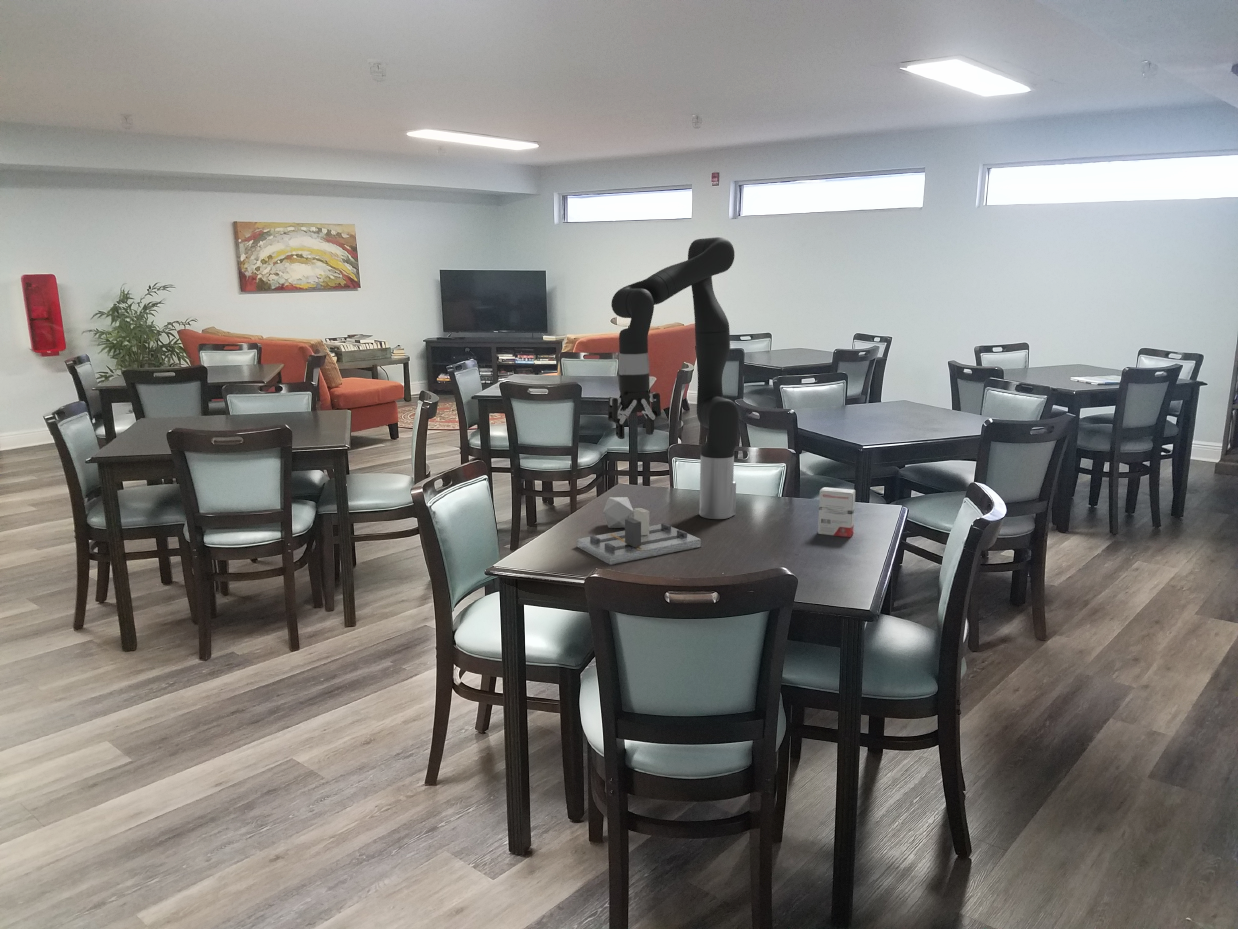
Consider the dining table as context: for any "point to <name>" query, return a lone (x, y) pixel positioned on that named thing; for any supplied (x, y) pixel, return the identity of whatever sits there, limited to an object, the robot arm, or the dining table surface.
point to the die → (617, 511)
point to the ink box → (836, 512)
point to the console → (653, 544)
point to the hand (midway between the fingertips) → (635, 436)
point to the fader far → (642, 519)
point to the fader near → (633, 532)
